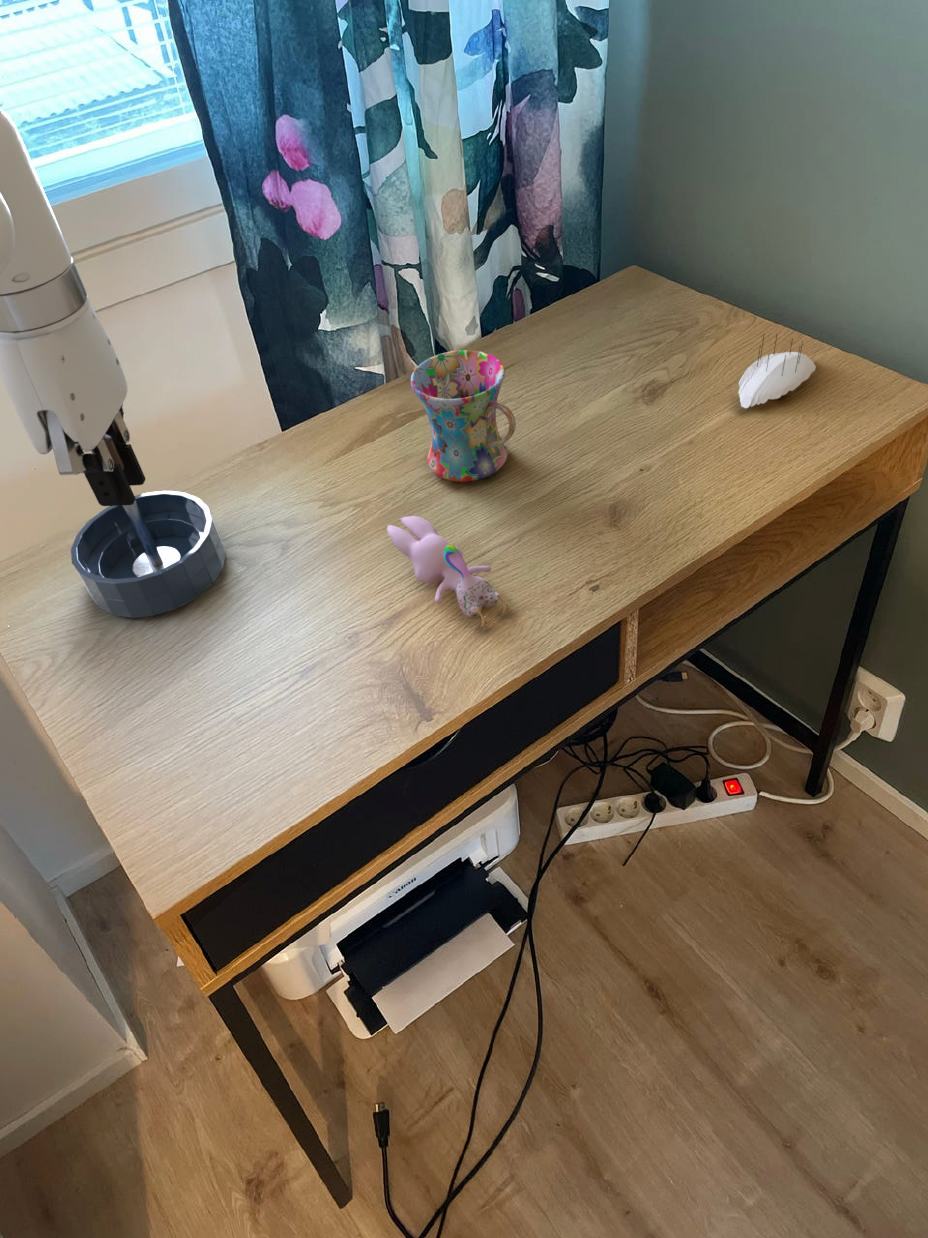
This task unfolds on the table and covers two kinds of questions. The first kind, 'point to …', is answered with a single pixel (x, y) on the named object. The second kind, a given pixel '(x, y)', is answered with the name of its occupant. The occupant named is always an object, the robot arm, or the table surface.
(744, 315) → the table surface
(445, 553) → the rabbit figure
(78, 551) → the bowl
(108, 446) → the wood-topped metal stand
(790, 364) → the pincushion
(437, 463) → the mug
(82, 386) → the robot arm
